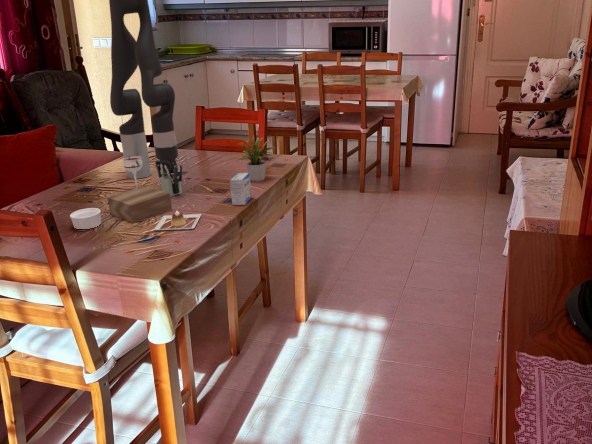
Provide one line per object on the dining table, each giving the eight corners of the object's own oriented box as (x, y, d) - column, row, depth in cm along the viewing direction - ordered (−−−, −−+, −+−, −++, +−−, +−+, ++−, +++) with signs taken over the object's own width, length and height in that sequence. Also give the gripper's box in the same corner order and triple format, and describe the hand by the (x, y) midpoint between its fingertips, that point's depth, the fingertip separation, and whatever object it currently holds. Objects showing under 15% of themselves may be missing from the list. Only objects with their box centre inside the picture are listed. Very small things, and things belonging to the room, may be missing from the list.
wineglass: (150, 189, 207) (145, 156, 203) (134, 194, 203) (128, 161, 198) (140, 186, 212) (135, 154, 207) (124, 191, 207) (118, 158, 203)
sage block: (162, 193, 201) (159, 177, 199) (174, 190, 204) (172, 174, 202) (169, 196, 198) (167, 179, 196) (182, 192, 201) (180, 176, 199)
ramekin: (85, 233, 169) (82, 219, 168) (66, 228, 174) (63, 215, 172) (109, 223, 176) (106, 210, 175) (90, 219, 181) (87, 206, 179)
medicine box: (245, 205, 184) (242, 179, 181) (232, 205, 185) (229, 179, 182) (251, 197, 191) (249, 172, 188) (239, 197, 192) (236, 172, 189)
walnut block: (110, 214, 184) (107, 197, 182) (147, 202, 193) (145, 186, 191) (134, 224, 175) (131, 205, 173) (172, 211, 184) (169, 193, 182)
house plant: (251, 188, 201) (247, 142, 195) (229, 181, 211) (224, 137, 205) (282, 179, 209) (279, 135, 203) (259, 172, 219) (256, 130, 213)
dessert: (164, 218, 178) (161, 204, 177) (202, 217, 178) (200, 202, 176) (153, 233, 167) (151, 218, 165) (194, 231, 167) (192, 216, 165)
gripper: (145, 143, 197) (152, 190, 203) (166, 149, 187) (173, 198, 193) (164, 139, 202) (170, 185, 208) (186, 144, 192) (192, 192, 198)
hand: (172, 191), depth 201 cm, fingers closed on sage block, 5 cm apart
